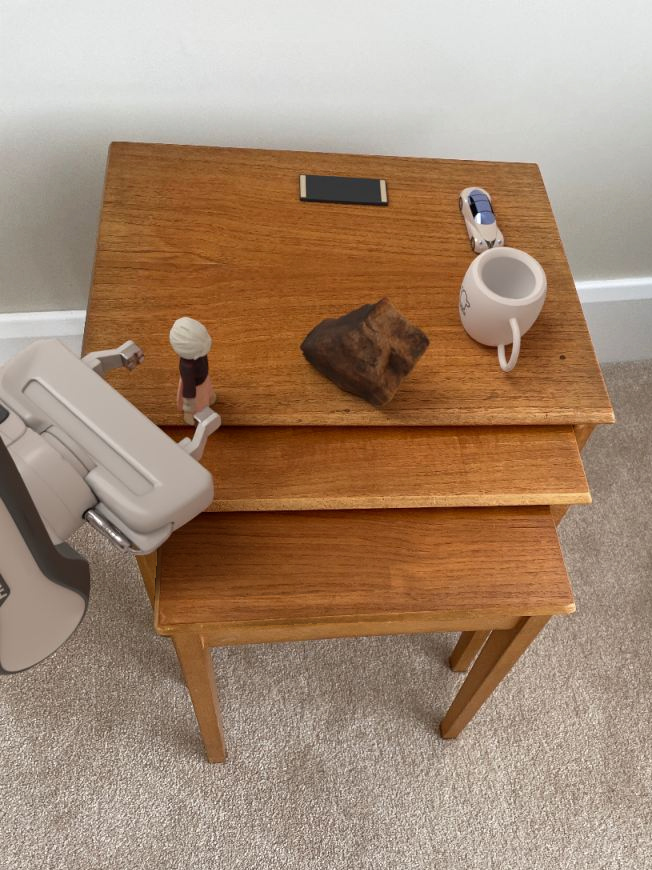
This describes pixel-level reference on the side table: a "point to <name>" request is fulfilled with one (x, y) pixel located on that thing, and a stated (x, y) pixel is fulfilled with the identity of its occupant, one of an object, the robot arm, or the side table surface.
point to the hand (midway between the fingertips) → (176, 381)
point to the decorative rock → (367, 350)
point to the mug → (502, 299)
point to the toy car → (480, 219)
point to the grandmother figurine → (192, 366)
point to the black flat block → (343, 190)
